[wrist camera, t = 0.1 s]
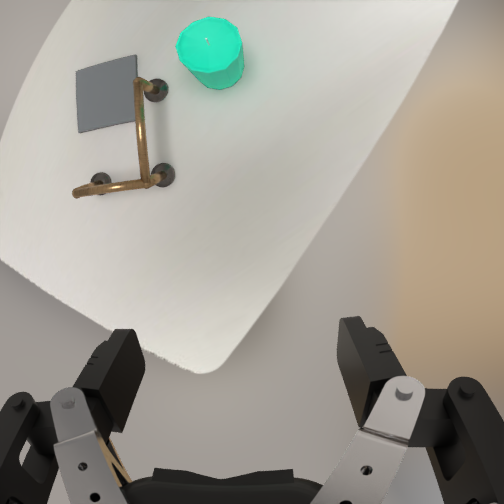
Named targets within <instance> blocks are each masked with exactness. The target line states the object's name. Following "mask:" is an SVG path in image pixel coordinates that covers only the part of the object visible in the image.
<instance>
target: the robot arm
mask: <svg viewBox="0 0 504 504" xmlns="http://www.w3.org/2000/svg"><path fill="white" fill-rule="evenodd" d="M337 360H338V365H339V368H340V371H341V374H342V376H343V380H344V383H345V386H346V389H347V392H348V395H349V398H350V401H351V404H352V407H353V411H354V414H355V417H356V420H357V423H358V426H359V427H360V429H359V430H358V431H357V433H356V435H355V437H354V438H353V440H352V442H351V443H350V445H349V447H348V448H347V450H346V451H345V453H344V455H343V456H342V458H341V459H340V461H339V463H338V464H337V466H336V468H335V469H334V470H333V472H332V473H331V475H330V476H329V478H328V479H327V481H326V482H325V484H324V485H321V484H319V483H317V482H313V481H310V480H306V479H302V478H294V477H293V469H287V470H275V471H257V472H254V473H249V474H246V475H241V476H237V477H232V478H227V479H216V478H212V477H208V476H204V475H200V474H196V473H193V472H189V471H183V470H171V469H161V468H154V472H153V476H152V477H146V478H142V479H138V480H135V481H132V480H131V478H130V477H129V475H128V473H127V471H126V469H125V467H124V466H123V464H122V462H121V460H120V458H119V456H118V454H117V451H116V449H115V447H114V445H113V443H112V441H111V439H110V438H109V436H110V434H111V431H112V432H119V433H122V432H123V429H124V427H125V424H126V421H127V418H128V416H129V413H130V410H131V407H132V405H133V402H134V399H135V397H136V394H137V391H138V389H139V386H140V383H141V381H142V378H143V375H144V373H145V360H144V356H143V353H142V350H141V347H140V344H139V341H138V338H137V335H136V332H135V331H134V330H133V329H115V330H114V331H113V333H112V335H111V337H110V338H109V340H108V341H104V342H103V343H101V344H100V345H99V346H98V347H97V348H96V349H95V350H94V352H93V354H92V355H91V358H90V359H89V360H88V362H87V365H85V367H84V369H83V370H82V372H81V374H80V375H79V377H78V378H77V380H76V382H75V384H74V385H73V387H68V388H64V389H62V390H60V391H58V392H57V393H56V394H55V395H54V396H53V397H52V399H51V401H45V402H35V401H34V399H33V397H32V396H31V395H30V394H29V393H27V392H19V393H16V394H14V395H12V396H11V397H10V398H9V399H8V400H7V401H6V403H5V404H4V406H3V408H2V409H1V411H0V504H47V502H48V498H49V495H50V492H51V489H52V486H53V483H54V481H55V477H56V475H57V472H58V469H60V472H61V476H62V479H63V482H64V485H65V488H66V491H67V494H68V497H69V500H70V503H71V504H381V503H382V501H383V499H384V498H385V495H386V494H387V492H388V489H389V488H390V485H391V483H392V481H393V479H394V477H395V475H396V473H397V470H398V468H399V466H400V464H401V462H402V459H403V457H404V455H405V452H406V450H407V447H426V450H427V453H428V456H429V458H430V461H431V464H432V467H433V470H434V473H435V476H436V479H437V482H438V485H439V488H440V491H441V494H442V498H443V501H444V504H504V421H503V419H502V417H501V416H500V414H499V412H498V411H497V409H496V407H495V406H494V404H493V402H492V401H491V399H490V397H489V396H488V394H487V393H486V391H485V389H484V388H483V386H482V385H481V384H480V383H479V382H478V381H477V380H475V379H473V378H470V377H458V378H456V379H454V380H452V381H451V383H450V384H449V386H448V388H447V389H427V388H424V386H423V385H422V383H421V382H419V381H418V380H417V379H415V378H412V377H408V376H407V375H406V374H405V372H404V370H403V368H402V366H401V364H400V363H399V361H398V359H397V357H396V356H395V354H394V352H393V351H392V349H391V347H390V345H389V344H388V342H387V340H386V338H385V337H384V335H383V334H382V333H381V332H380V331H378V330H377V329H376V328H374V327H369V328H366V326H365V324H364V322H363V320H362V319H361V317H360V316H356V317H347V318H341V319H340V322H339V332H338V344H337ZM362 427H363V428H362ZM26 440H27V441H28V442H29V443H30V445H31V446H30V449H29V451H28V453H27V455H26V458H25V460H24V462H23V465H22V466H21V464H20V462H19V455H20V452H21V450H22V448H23V446H24V444H25V442H26Z"/></svg>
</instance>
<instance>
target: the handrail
mask: <svg viewBox="0 0 504 504" xmlns="http://www.w3.org/2000/svg"><path fill="white" fill-rule="evenodd" d="M133 90H134V108H135V123H136V135H137V146H138V156H139V166H140V174H141V179H138V180H130V181H123V182H116V183H111V179H110V177H109V176H108V175H107V174H106V173H103V172H101V173H97V174H95V175H94V176H93V177H92V179H91V183H89V184H86V185H83V186H80V187H78V188H75V189H74V190H73V191H72V195H73V197H74V198H80V197H84V196H90V195H103V194H106V193H111V192H118V191H125V190H133V189H141V188H145V189H148V188H150V187H152V186H153V185H157V186H159V187H166V186H168V185H170V184H171V183H172V182H173V180H174V178H175V171H174V169H173V168H172V166H171V165H169V164H166V163H161V164H158V165H156V166H155V167H154V168H153V170H152V172H151V175H150V171H149V162H148V152H147V141H146V129H145V116H144V100H143V91H144V95H145V97H146V98H147V99H148V100H149V101H152V102H159V101H161V100H163V99H164V98H165V97H166V95H167V93H168V86H167V84H166V83H165V82H164V81H163V80H161V79H153V80H151V81H147V80H145V79H143V78H141V77H137V78H135V79H134V80H133Z"/></svg>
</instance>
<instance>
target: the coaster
mask: <svg viewBox="0 0 504 504" xmlns="http://www.w3.org/2000/svg"><path fill="white" fill-rule="evenodd" d="M135 78H137V55H131V56H127V57H123V58H119V59H115V60H112V61H108V62H105V63H101V64H98V65H94V66H91V67H88V68H85V69H82V70H79V71H76V101H77V120H78V133H82V132H86V131H90V130H94V129H99V128H103V127H108V126H112V125H117V124H122V123H127V122H132V121H135V108H134V90H133V80H134V79H135Z"/></svg>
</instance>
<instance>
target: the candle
mask: <svg viewBox="0 0 504 504" xmlns="http://www.w3.org/2000/svg"><path fill="white" fill-rule="evenodd" d="M176 50H177V53H178V56H179V59H180V61H181V62H182V63H183V64H184V65H185V66H186V67H187V68H188V70H189V71H190V72H191V73H192V74H193V75H194V76H195V77H196V78H197V79H198V80H199V81H200V82H201V83H203V84H204V85H205V86H206V87H207V88H213V89H218V90H221V89H224V88H228V87H231V86H233V85H234V84H235V83H236V82H237V81H238V80H239V79H240V78H241V76H242V72H243V69H244V58H243V47H242V41H241V38H240V35H239V31H238V28H237V27H235V26H234V25H233V24H231V23H230V22H229V21H227V20H226V19H222V18H215V17H206V18H203V19H201V20H198V21H195V22H193V23H191V24H190V25H189V26H188V27H187V28H186V29H184V30H183V31H182V32H181V33H180V36H179V38H178V41H177V44H176Z"/></svg>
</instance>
